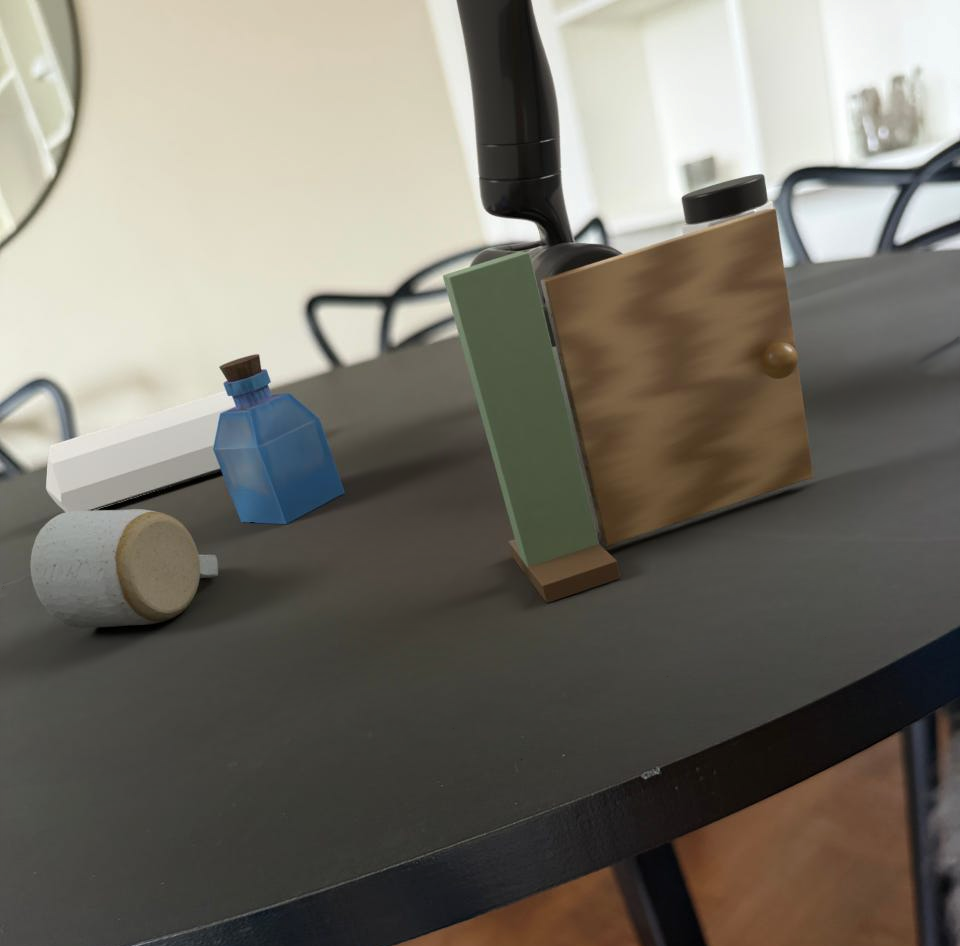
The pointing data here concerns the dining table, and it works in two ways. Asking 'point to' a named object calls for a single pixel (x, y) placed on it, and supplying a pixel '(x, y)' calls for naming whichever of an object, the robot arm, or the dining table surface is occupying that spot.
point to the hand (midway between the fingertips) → (655, 315)
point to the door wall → (528, 425)
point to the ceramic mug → (116, 567)
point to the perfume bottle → (271, 449)
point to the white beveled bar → (136, 455)
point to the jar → (724, 202)
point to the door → (682, 375)
